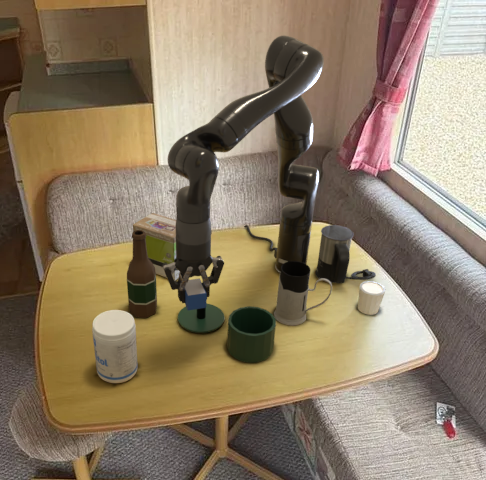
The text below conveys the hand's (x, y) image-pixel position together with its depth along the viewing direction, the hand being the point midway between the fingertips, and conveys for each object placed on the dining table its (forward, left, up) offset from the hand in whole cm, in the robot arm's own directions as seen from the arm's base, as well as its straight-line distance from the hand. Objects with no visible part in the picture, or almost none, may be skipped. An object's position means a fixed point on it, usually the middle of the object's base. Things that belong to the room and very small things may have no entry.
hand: (193, 299), depth 127 cm
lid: (-12, +5, -16) cm, 21 cm away
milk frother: (-22, +52, -17) cm, 59 cm away
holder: (-7, +31, -17) cm, 36 cm away
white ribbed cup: (-6, +51, -17) cm, 54 cm away
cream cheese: (0, 0, 0) cm, 0 cm away
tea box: (-41, +1, -17) cm, 44 cm away
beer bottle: (-21, -9, -17) cm, 28 cm away
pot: (+1, +14, -16) cm, 22 cm away
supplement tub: (+1, -19, -17) cm, 25 cm away
